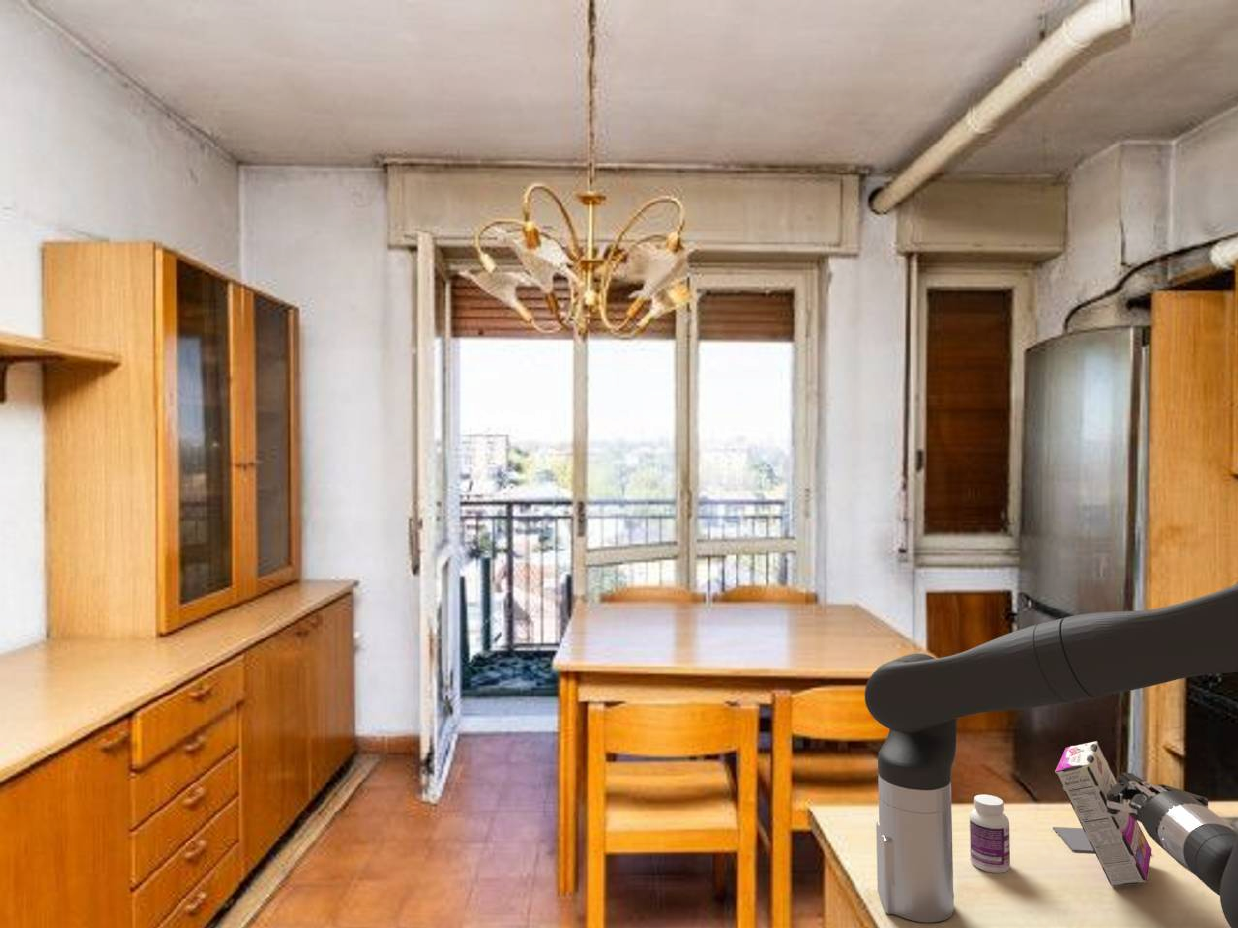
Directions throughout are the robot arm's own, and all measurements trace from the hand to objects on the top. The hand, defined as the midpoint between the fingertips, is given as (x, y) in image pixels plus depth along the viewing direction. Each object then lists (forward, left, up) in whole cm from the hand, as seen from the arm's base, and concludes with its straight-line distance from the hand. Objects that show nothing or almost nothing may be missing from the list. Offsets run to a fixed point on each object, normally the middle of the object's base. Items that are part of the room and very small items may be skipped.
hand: (1125, 779), depth 113 cm
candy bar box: (0, -2, -12) cm, 12 cm away
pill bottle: (-19, -1, -13) cm, 23 cm away
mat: (0, +8, -13) cm, 15 cm away
